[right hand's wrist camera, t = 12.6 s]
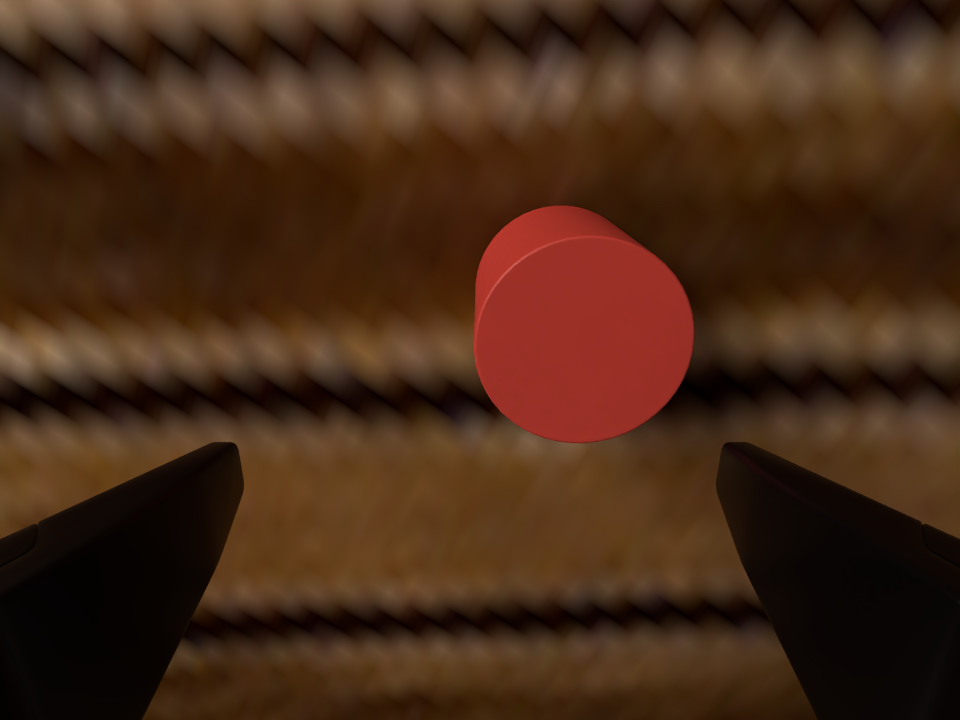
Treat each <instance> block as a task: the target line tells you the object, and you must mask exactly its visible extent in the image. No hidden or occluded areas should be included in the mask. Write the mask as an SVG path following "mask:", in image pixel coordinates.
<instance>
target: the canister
mask: <svg viewBox="0 0 960 720" xmlns="http://www.w3.org/2000/svg"><path fill="white" fill-rule="evenodd" d="M693 346H694V320H693V313H692V309H691V306H690V302H689V299H688V297H687V295H686V292H685V290H684V288H683V286H682V284H681V283H680V281H679V280H678V278H677V277H676V275H675V274H674V273H673V272H672V271H671V270H670V268H669V267H668V266H667V265H666V264H665V263H664V262H663V261H661V260H660V259H659V258H658V257H656V256H655V255H654V254H653V253H651V252H650V251H649V250H647V249H646V248H645V247H643V246H642V245H641V244H639V243H638V242H637V241H635V240H634V239H632V238H631V237H630V236H628V235H627V234H626V233H624V232H623V231H622V230H620V229H619V228H618V227H616V226H615V225H614V224H612V223H611V222H610V221H608V220H607V219H605V218H603V217H602V216H600V215H599V214H596V213H594V212H592V211H589V210H586V209H583V208H579V207H573V206H549V207H543V208H539V209H536V210H533V211H530V212H528V213H525V214H523V215H521V216H520V217H518V218H516V219H514V220H513V221H512V222H510V223H509V224H508V225H506V226H505V227H504V228H503V229H502V230H501V231H500V232H499V233H498V234H497V235H496V236H495V237H494V239H493V240H492V241H491V243H490V244H489V246H488V247H487V249H486V251H485V253H484V255H483V257H482V260H481V262H480V265H479V269H478V272H477V279H476V295H475V327H474V355H475V361H476V367H477V370H478V374H479V377H480V380H481V382H482V384H483V386H484V389H485V391H486V392H487V394H488V395H489V397H490V399H491V400H492V402H493V403H494V404H495V405H496V406H497V408H498V409H499V410H500V411H501V412H502V413H503V414H504V415H505V416H506V417H507V418H508V419H510V420H511V421H512V422H514V423H515V424H517V425H518V426H519V427H521V428H523V429H525V430H527V431H529V432H530V433H532V434H535V435H538V436H540V437H543V438H546V439H550V440H554V441H559V442H567V443H589V442H597V441H602V440H606V439H611V438H614V437H617V436H619V435H622V434H625V433H627V432H629V431H631V430H633V429H635V428H637V427H639V426H640V425H642V424H643V423H645V422H646V421H648V420H649V419H650V418H652V417H653V416H654V415H655V414H657V413H658V412H659V411H660V410H661V409H662V408H663V407H664V406H665V405H666V404H667V403H668V402H669V400H670V399H671V398H672V396H673V395H674V394H675V392H676V391H677V389H678V388H679V386H680V384H681V382H682V381H683V379H684V377H685V374H686V372H687V369H688V367H689V364H690V360H691V357H692V353H693Z"/></svg>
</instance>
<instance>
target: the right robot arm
mask: <svg viewBox="0 0 960 720" xmlns="http://www.w3.org/2000/svg"><path fill="white" fill-rule="evenodd" d="M243 490H244V479H243V473H242V467H241V462H240V456H239V450H238V448H237V445H236V444H235V443H232V442H213V443H210V444H208V445H206V446H203V447H201V448H199V449H197V450H195V451H192V452H190V453H188V454H186V455H184V456H182V457H179V458H177V459H175V460H173V461H171V462H168V463H166V464H164V465H162V466H160V467H157V468H155V469H153V470H151V471H149V472H147V473H144V474H142V475H140V476H138V477H136V478H133V479H131V480H129V481H127V482H125V483H123V484H120V485H118V486H116V487H114V488H112V489H109V490H107V491H105V492H103V493H101V494H98V495H96V496H94V497H92V498H90V499H88V500H85V501H83V502H81V503H79V504H77V505H74V506H72V507H70V508H68V509H66V510H63V511H61V512H59V513H57V514H55V515H53V516H50V517H48V518H46V519H44V520H42V521H40V522H39V523H38V525H37V524H33V525H30V526H28V527H26V528H24V529H22V530H20V531H17V532H15V533H13V534H11V535H8V536H6V537H4V538H2V539H0V720H142V719H143V717H144V715H145V712H146V710H147V708H148V706H149V704H150V702H151V700H152V698H153V696H154V694H155V692H156V690H157V688H158V686H159V684H160V682H161V680H162V678H163V676H164V674H165V672H166V670H167V667H168V665H169V663H170V661H171V659H172V657H173V655H174V653H175V651H176V649H177V647H178V645H179V643H180V641H181V639H182V637H183V635H184V633H185V631H186V629H187V627H188V624H189V622H190V620H191V618H192V616H193V614H194V612H195V610H196V608H197V606H198V604H199V602H200V600H201V598H202V596H203V594H204V592H205V590H206V588H207V586H208V584H209V581H210V579H211V577H212V575H213V573H214V571H215V569H216V567H217V564H218V562H219V560H220V557H221V554H222V552H223V549H224V546H225V543H226V540H227V538H228V535H229V532H230V529H231V526H232V523H233V520H234V517H235V515H236V512H237V509H238V506H239V503H240V500H241V497H242V494H243ZM716 490H717V494H718V497H719V500H720V503H721V506H722V509H723V512H724V515H725V517H726V520H727V523H728V526H729V529H730V532H731V535H732V538H733V540H734V543H735V546H736V549H737V552H738V554H739V557H740V560H741V562H742V564H743V567H744V569H745V571H746V573H747V575H748V577H749V579H750V581H751V583H752V586H753V588H754V590H755V592H756V594H757V596H758V598H759V600H760V602H761V604H762V606H763V608H764V610H765V612H766V614H767V616H768V618H769V620H770V622H771V624H772V626H773V629H774V631H775V633H776V635H777V637H778V639H779V641H780V643H781V645H782V647H783V649H784V651H785V653H786V655H787V657H788V659H789V661H790V663H791V665H792V667H793V669H794V672H795V674H796V676H797V678H798V680H799V682H800V684H801V686H802V688H803V690H804V692H805V694H806V696H807V698H808V700H809V702H810V704H811V706H812V708H813V710H814V712H815V715H816V717H817V719H818V720H960V539H958V538H956V537H954V536H952V535H949V534H947V533H945V532H943V531H940V530H938V529H936V528H934V527H932V526H930V525H927V524H923V525H922V523H921V522H920V521H918V520H916V519H914V518H912V517H910V516H907V515H905V514H903V513H901V512H899V511H897V510H894V509H892V508H890V507H888V506H886V505H883V504H881V503H879V502H877V501H875V500H872V499H870V498H868V497H866V496H864V495H862V494H859V493H857V492H855V491H853V490H851V489H848V488H846V487H844V486H842V485H840V484H838V483H835V482H833V481H831V480H829V479H827V478H824V477H822V476H820V475H818V474H816V473H813V472H811V471H809V470H807V469H805V468H803V467H800V466H798V465H796V464H794V463H792V462H789V461H787V460H785V459H783V458H781V457H778V456H776V455H774V454H772V453H770V452H768V451H765V450H763V449H761V448H759V447H757V446H754V445H752V444H750V443H747V442H728V443H725V444H724V445H723V448H722V450H721V456H720V462H719V468H718V473H717V479H716Z"/></svg>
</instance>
